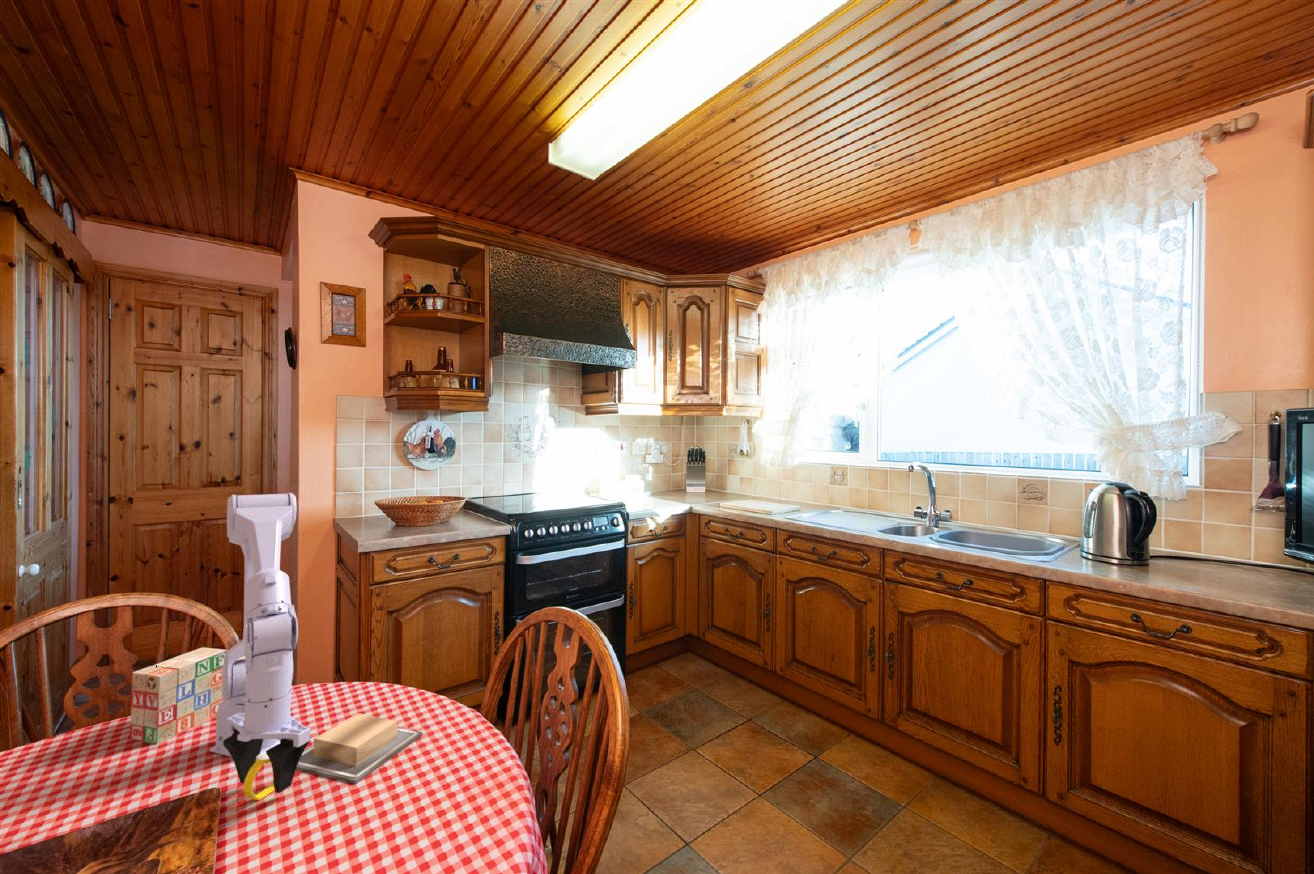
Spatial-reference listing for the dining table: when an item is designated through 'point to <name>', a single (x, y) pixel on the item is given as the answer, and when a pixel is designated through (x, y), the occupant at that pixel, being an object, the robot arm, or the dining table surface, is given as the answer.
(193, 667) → the stack of blocks
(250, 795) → the watch
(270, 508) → the robot arm
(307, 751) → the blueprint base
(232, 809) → the dining table surface
